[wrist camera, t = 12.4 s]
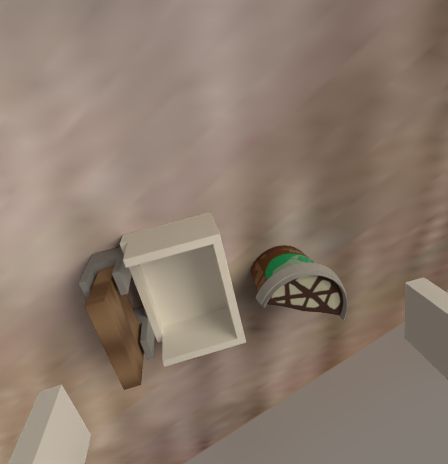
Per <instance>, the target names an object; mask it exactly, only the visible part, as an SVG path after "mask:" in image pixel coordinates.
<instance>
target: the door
mask: <svg viewBox="0 0 448 464" xmlns="http://www.w3.org/2000/svg"><path fill="white" fill-rule="evenodd" d="M114 266H115V265H114ZM114 266H110V267H107V268H103V269H99V271H98V274H97V276H96V279H95V282H94V284H93V287H92V289H91V292H90V294H89V297H88V299H87V302H86V304H85V309H86V311H87V313H88V315H89V317H90V319H91V321H92V323H93V326H94V328H95V330H96V332H97V334H98V336H99V338H100V340H101V342H102V344H103V347H104V349H105V351H106V353H107V355H108V357H109V359H110V361H111V363H112V365H113V368H114V370H115V372H116V374H117V376H118V378H119V380H120V382H121V384H122V387H123V389H124V390H125V389H128V388H132V387H135V386H138V385H141V379H142V367H143V355H144V350H143V347H142V345H141V343H140V338H141V328H140V326H139V323H138V321H137V318H136V316H135V313H134V311H133V308H132V306H131V303H130V301H129V298H128V296H127V294H125V295H122V296H121V294H120V292H119V289H118V287H117V284H116V282H115V280H114V277H113V275H112V273H113V269H114Z"/></svg>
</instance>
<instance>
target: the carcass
mask: <svg viewBox="0 0 448 464" xmlns="http://www.w3.org/2000/svg"><path fill="white" fill-rule="evenodd" d="M120 246H121V247H118V248H114V249H110V250H106V251H103V252H99V253H95V254H92V256H91V258H90V260H89V262H88V264H87V266H86V268H85V270H84V272H83V274H82V276H81V279H80V281H79V286H80V288H81V290H82V292H83V294H84V296H85V298H86V300H87V299H88V297H89V294H90V292H91V289H92V287H93V284H94V282H95V279H96V276H97V274H98V271H99V269H103V268H107V267H110V266H114V265H115V266H114V269H113V273H112V275H113V277H114V280H115V282H116V284H117V287H118V289H119V292H120V294H121V296H122V295H125V294H128V291H129V286H130V280H131V275H132V277H133V280H134V283H135V285H136V288H137V290H138V293H139V295H140V298H141V301H142V303H143V306H144V307H141V308H138V309H134V310H133V311H134V313H135V316H136V318H137V321H138V323H139V326H140V328H141V338H140V343H141V345H142V347H143V350H144V352H145V355H146V357H147V359H150V358H154V336H155V337H156V340H157V342H162V362H163V364H164V367H165V366H169V365H172V364H175V363H179V362H182V361H185V360H189V359H192V358H195V357H199V356H202V355H205V354H209V353H212V352H215V351H219V350H222V349H225V348H229V347H232V346H235V345H239V344H242V343H246V340H245V335H244V331H243V327H242V323H241V319H240V315H239V311H238V307H237V302H236V298H235V294H234V290H233V286H232V282H231V278H230V274H229V269H228V265H227V261H226V257H225V253H224V249H223V245H222V240H221V236H220V233H219V231H218V228H217V226H216V224H215V221H214V219H213V217H212V214H211V212H208V213H204V214H201V215H197V216H193V217H189V218H186V219H182V220H178V221H174V222H170V223H167V224H163V225H159V226H155V227H152V228H148V229H144V230H140V231H136V232H133V233H129V234H125V235H123V236H122V239H121V242H120Z"/></svg>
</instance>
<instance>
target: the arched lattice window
mask: <svg viewBox="0 0 448 464" xmlns="http://www.w3.org/2000/svg"><path fill="white" fill-rule="evenodd" d="M251 273H252V276H253V279H254V282H255V285H256V288H257V291H258V294H257V296H256V300H257V301H258V302H259V304H260V305H262V306H263V307H264V308H265V306H266V304H269V305H279V306H284V307H289V308H293V309H297V310H302V311H309V312H323V313H329V314H335V315H339V316H340V317H341V318H342V319H343V320H345V317H346V314H347V309H348V301H347V295H346V292H345V289H344V287H343V285H342V283H341V281H340V279H339V278H338V276H337V275H336V274H335V273H334V272H333V271H332V270H331V269H329V268H327V267H325V266H323V265H320V264H317V263H314V262H313V261H312V260H311V259H310V258H308V257H307V256H306V255H305V254H304V253H302V252H301V251H300V250H298V249H296V248H295V247H291V246H276V247H273V248H271V249H269V250H267V251H265V252H264V253H262V254H261V255H260V256H259V257H258V258H257V260H256V261H255V262H254V264H253V266H252V268H251Z"/></svg>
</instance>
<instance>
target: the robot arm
mask: <svg viewBox="0 0 448 464" xmlns="http://www.w3.org/2000/svg"><path fill="white" fill-rule="evenodd" d="M405 339H406V340H407V341H408V342H409V343H410V344H411V345H412V346H413V347H414V348H415V349H417V350H418V351H419V352H420V353H421V354H422V355H423V356H424V357H425V358H426V359H427V360H428V361H429V362H430V363H431V364H432V365H433V366H434V367H435V368H436V369H437V370H438V371H439V372H440V373H441V374H442V375H443V376H445V378H447V380H448V293H446V292H445V291H443V290H442V289H440V288H439V287H437V286H436V285H434V284H433V283H431V282H430V281H428V280H427V279H425V278H424V277H423V278H420V279H417V280H413V281H410V282H406V283H405ZM90 438H91V434H90V433H89V431H88V429H87V427H86V426H85V424H84V422H83V421H82V419H81V417H80V415H79V414H78V412H77V410H76V408H75V407H74V405H73V403H72V402H71V400H70V398H69V396H68V395H67V393H66V391H65V390H64V388H63V386H62V385H59V386H55V387H52V388H48V389H45V390H42V391H40V392H39V394H38V396H37V398H36V401H35V403H34V405H33V408H32V410H31V412H30V415H29V417H28V419H27V421H26V424H25V426H24V428H23V431H22V433H21V435H20V437H19V440H18V442H17V444H16V447H15V449H14V451H13V454H12V456H11V458H10V460H9V463H8V464H85V460H86V456H87V451H88V447H89V442H90Z"/></svg>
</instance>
